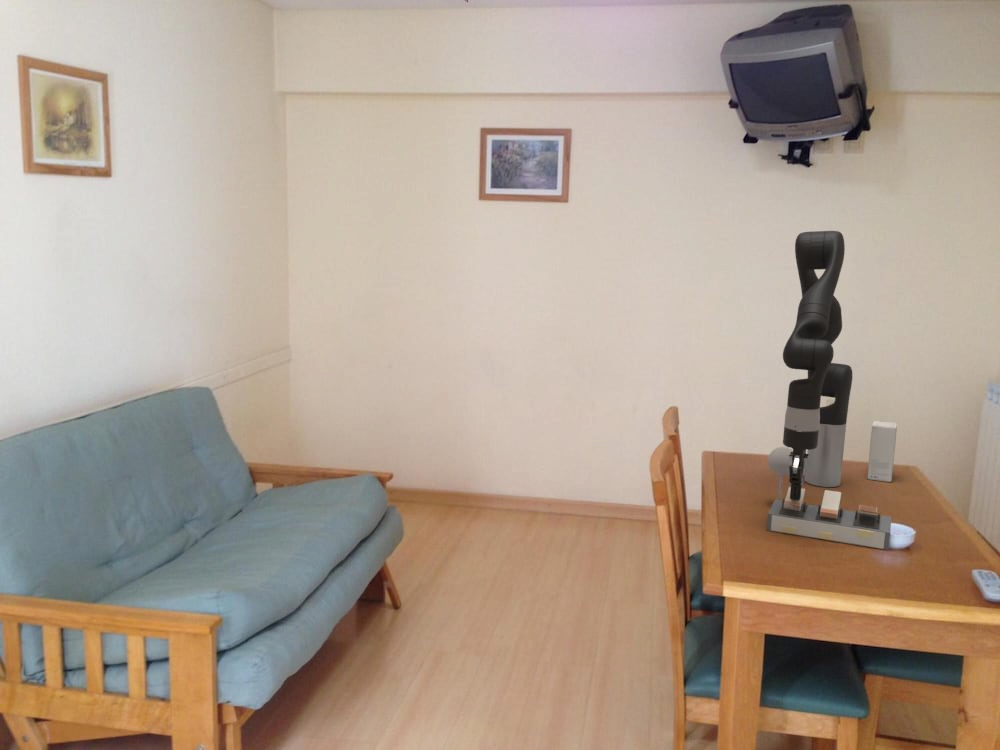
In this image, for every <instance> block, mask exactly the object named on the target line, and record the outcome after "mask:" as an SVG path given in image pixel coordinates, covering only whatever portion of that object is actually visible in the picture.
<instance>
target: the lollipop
mask: <svg viewBox="0 0 1000 750" xmlns="http://www.w3.org/2000/svg"><path fill="white" fill-rule="evenodd" d="M791 452H793V449H792V448H790V447H787V446H780V447H776V448H774V449H773V450H772V451H771V452H770V453H769V454H768V457H767V458H768V459H767V464H768V468H769V469H770V470H771V472H773V474H775V475H778V476H779V485H778V495H777V496H778V497H777V500H781V501H782V492H783V491H782V489H783V480H784V476H790V474H789V466H790V463H789V455H790V454H791Z"/></svg>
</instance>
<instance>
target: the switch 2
mask: <svg viewBox="0 0 1000 750" xmlns="http://www.w3.org/2000/svg"><path fill="white" fill-rule="evenodd" d="M841 497H842V492H841V491H837V490H835V491H834V490H827V489H825V490H824V492H823V498H822V503H821V511H820V516H823V517H830V518H836V519H837V515H838V510H839V509H840V505H841V504H840V503H841Z"/></svg>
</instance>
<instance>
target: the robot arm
mask: <svg viewBox="0 0 1000 750" xmlns="http://www.w3.org/2000/svg"><path fill="white" fill-rule="evenodd" d="M795 238H796V239H795V243H794V254H795V260H796V261H795V262H796V268H797V273H798V277H799V278H798V279H799V283H800V290H801V299H800V300H799V301H800V302H799V304H798V308H797V315H796V322H795V325H794V328H793V331H792V333H791V335H790V336H789V338H788V339H787V341H786V343H785V346H784V348H783V352H782V359H783V362H784V364H785V366H786V367H788V368H789V369H793V370H799V371H800V370H801V371H807V378H799V379H795V380H792V381H790V383H789V385H788V393H787V405H786V410H785V415H784V423H783V424H784V426H783V437H782V444H783V445H784V447H786V448H790V449H791V450H792V451H793V452H791V454H790V455H789V463H790V466H789V480H788V481H789V484H790V487H791V491H790V499H791V500H800V498H801V488H802V487H803V486H802V485H803V483H804V481H805V482H806V483H808V484H810V485H813V486H817V487H824V488H836V487H839V486H841V479H842V471H843V463H844V462H843V461H844V460H843V459H844V452H845V442H846V441H845V440H846V432H847V431H846V429H847V418H848V412H849V403H850V397H851V389H852V384H853V370H852V369H853V368H852V367H851V366H850V365H849V364H844V363H836V362H833V358H834V353H835V352H834V348H833V344H834V343H835V342H836V340H837V339H838V338H839V336H840V335H841V332H842V330H843V318H842V306H841V305H840V301H839V300H838V299H837V297H835V295H834V294H835V291H836V288H837V285H838V282H839V279H840V275H841V271H842V268H843V263H844V259H845V251H846V249H845V248H846V247H845V246H846V245H845V239H844V235H843V234H842V232H841V231H838V230H819V231H816V230H815V231H814V230H813V231H806V232H805V231H804V232H800V233H799V234H798V235H797V236H796V237H795ZM815 270H824V271H823V274H821V276H820V277H818V276H817V273H816V271H815ZM821 397H828V398H833V399H834V402H833V403H831V404H829V405H825V406H821Z"/></svg>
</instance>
